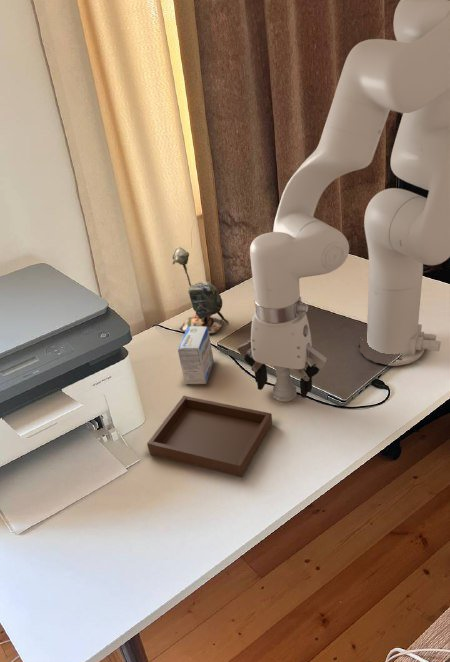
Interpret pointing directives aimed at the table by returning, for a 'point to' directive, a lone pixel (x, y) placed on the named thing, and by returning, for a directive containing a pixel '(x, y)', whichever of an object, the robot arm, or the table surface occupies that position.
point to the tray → (211, 435)
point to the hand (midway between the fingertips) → (283, 388)
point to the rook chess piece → (283, 385)
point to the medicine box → (196, 355)
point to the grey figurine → (201, 299)
